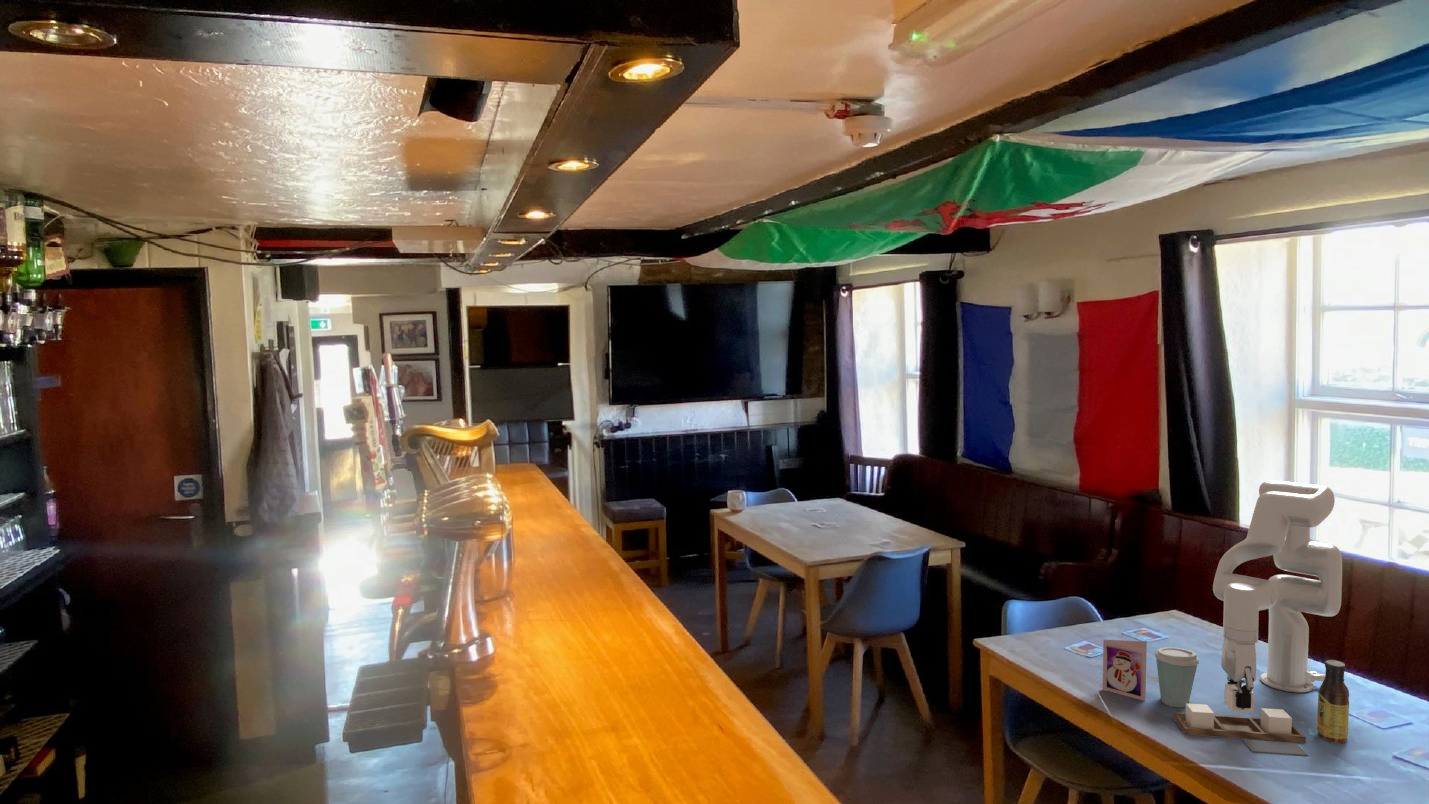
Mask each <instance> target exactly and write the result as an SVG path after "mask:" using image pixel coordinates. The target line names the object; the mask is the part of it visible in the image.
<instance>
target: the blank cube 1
mask: <svg viewBox="0 0 1429 804" xmlns="http://www.w3.org/2000/svg"><path fill="white" fill-rule="evenodd" d="M1185 713H1186V720H1185V722H1186V723H1187V725H1188V726H1189V727H1190V728H1205V729H1214V715H1215V713H1214V711H1213V710H1212V709H1211V707H1210V706H1209V705H1208V704H1205V703H1204V704H1203V703H1201V704H1200V703H1189V704H1188V703H1186V706H1185Z"/></svg>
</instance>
